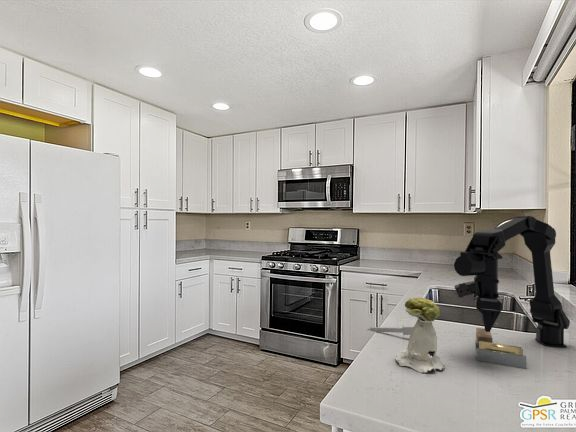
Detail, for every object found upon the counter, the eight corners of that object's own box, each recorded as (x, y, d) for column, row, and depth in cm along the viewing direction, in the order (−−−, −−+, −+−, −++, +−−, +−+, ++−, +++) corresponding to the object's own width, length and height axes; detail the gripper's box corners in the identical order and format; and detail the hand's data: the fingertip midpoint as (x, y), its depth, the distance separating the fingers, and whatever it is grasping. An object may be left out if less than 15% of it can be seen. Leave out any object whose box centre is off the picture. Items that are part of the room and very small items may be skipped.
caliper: (424, 343, 114) (424, 324, 114) (423, 344, 113) (423, 325, 113) (368, 330, 127) (368, 313, 127) (366, 330, 126) (367, 313, 126)
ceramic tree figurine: (407, 351, 106) (407, 291, 106) (451, 363, 97) (451, 298, 97) (389, 362, 97) (389, 297, 97) (435, 377, 88) (435, 305, 89)
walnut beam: (489, 341, 116) (489, 329, 116) (492, 351, 107) (492, 338, 107) (476, 339, 117) (476, 327, 117) (477, 349, 108) (477, 336, 108)
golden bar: (520, 355, 99) (520, 345, 99) (522, 360, 96) (522, 349, 96) (479, 349, 104) (479, 339, 104) (479, 353, 101) (479, 343, 101)
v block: (522, 359, 100) (522, 348, 101) (526, 368, 94) (526, 357, 94) (475, 352, 106) (475, 341, 106) (476, 360, 100) (476, 349, 100)
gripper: (456, 268, 114) (455, 315, 113) (456, 276, 97) (455, 331, 97) (495, 271, 109) (495, 320, 109) (502, 279, 92) (502, 338, 92)
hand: (486, 327), depth 101 cm, fingers open, 9 cm apart
